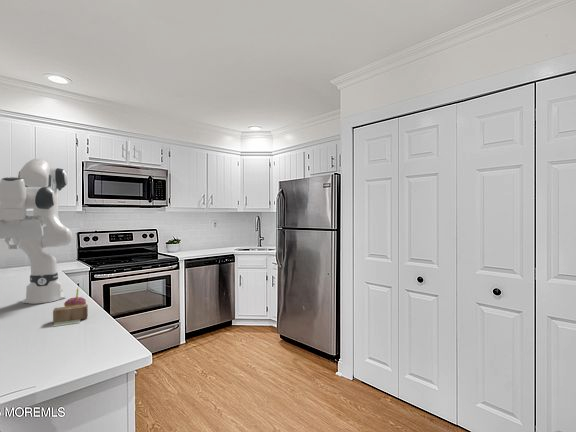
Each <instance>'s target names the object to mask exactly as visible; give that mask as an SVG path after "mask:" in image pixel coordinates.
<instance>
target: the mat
mask: <svg viewBox="0 0 576 432" xmlns="http://www.w3.org/2000/svg"><path fill="white" fill-rule="evenodd" d="M81 320H82V319H79V320H72V321H64V322H57V323H53V325H52V327H61V326H68V325H75V324H76V325H77V324H80V323H81Z"/></svg>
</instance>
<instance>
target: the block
mask: <svg viewBox="0 0 576 432" xmlns="http://www.w3.org/2000/svg"><path fill="white" fill-rule="evenodd" d="M88 306H89V305H88V303H86V304H85V305H76V306H68V307H65V306H60V307H54V309H53V310H52V323H53V324H55V323H57V322H64V321H72V320H79V319H81V320H85V319H88V317H89V316H88V315H89V310H88V309H89V307H88Z"/></svg>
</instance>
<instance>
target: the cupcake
mask: <svg viewBox="0 0 576 432" xmlns="http://www.w3.org/2000/svg"><path fill="white" fill-rule="evenodd" d="M75 296H76V297H71V298H68V299H67V300H66V301H64V303H63V305H64V306H63V307H68V306H76V305H85V304H87V301H86V299H85V298H84V297H82V296H79V288H76V294H75Z"/></svg>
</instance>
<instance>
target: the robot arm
mask: <svg viewBox="0 0 576 432" xmlns="http://www.w3.org/2000/svg"><path fill="white" fill-rule="evenodd" d="M68 181H69V176H68V172H67V171H66V170H65V169H64V168H58V167H57V168H54V167H50V165H49V163H48V162H47V161H46V160H44V159H41V158H33V159H31V160H28V162H26V163H25V164H24V165H23V167H22V168H21V169H20V170H19V172H18V175H17V177H13V176H11V177H8V176H7V177H3V178H1V179H0V239H1V240H2V239H4V243H6V244H7V246H8V250H19V249H20V250H21V251H23V252H24V253H25V255H27V257H28V260H29V265H30V275H29V284H27V286H26V289H25V290H26V291H25V299H22V300H21V303H22V304H33V305H35V304H46V303H51V302H56V301H58V300H63V299H67V298H66V297H67V296H66V294H65V293H64V292H63V289H62V283H61V282H60V281H59V280H58V279H59V274H58V269H57V268H58V265H57V262H58V261H57V258H56V257H55V256H54V255H52V254H49V253H46V252H45V251H44V250H43V249H45V248H60V247H65V246H68V245H70V244H71V242H73V241H72V240H73V238H74V237H73V232H72V230H71V229H70V228H69V227H67V226H65V225H64V224H63V223H62V222H61V220H60V217H59V206H60V205H59V202H60V200H59V192H60V191H62V189H64V188H65V187H66V186H67V185H68ZM28 209H29V210H30V209H33V211H32V215H27V214H28V213H27V210H28ZM44 225H45V226H44ZM11 241H12V243H13V244H12V243H11Z"/></svg>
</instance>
